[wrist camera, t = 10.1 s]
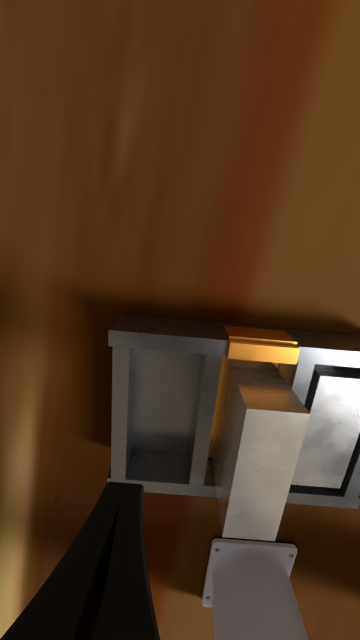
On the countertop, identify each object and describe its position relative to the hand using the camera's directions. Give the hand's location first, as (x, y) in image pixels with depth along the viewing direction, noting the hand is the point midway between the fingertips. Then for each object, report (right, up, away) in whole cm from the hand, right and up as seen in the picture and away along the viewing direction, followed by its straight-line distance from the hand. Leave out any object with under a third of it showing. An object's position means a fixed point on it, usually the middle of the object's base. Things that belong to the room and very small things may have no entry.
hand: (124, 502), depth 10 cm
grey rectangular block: (+6, 0, +9) cm, 11 cm away
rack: (+6, +1, +10) cm, 12 cm away
